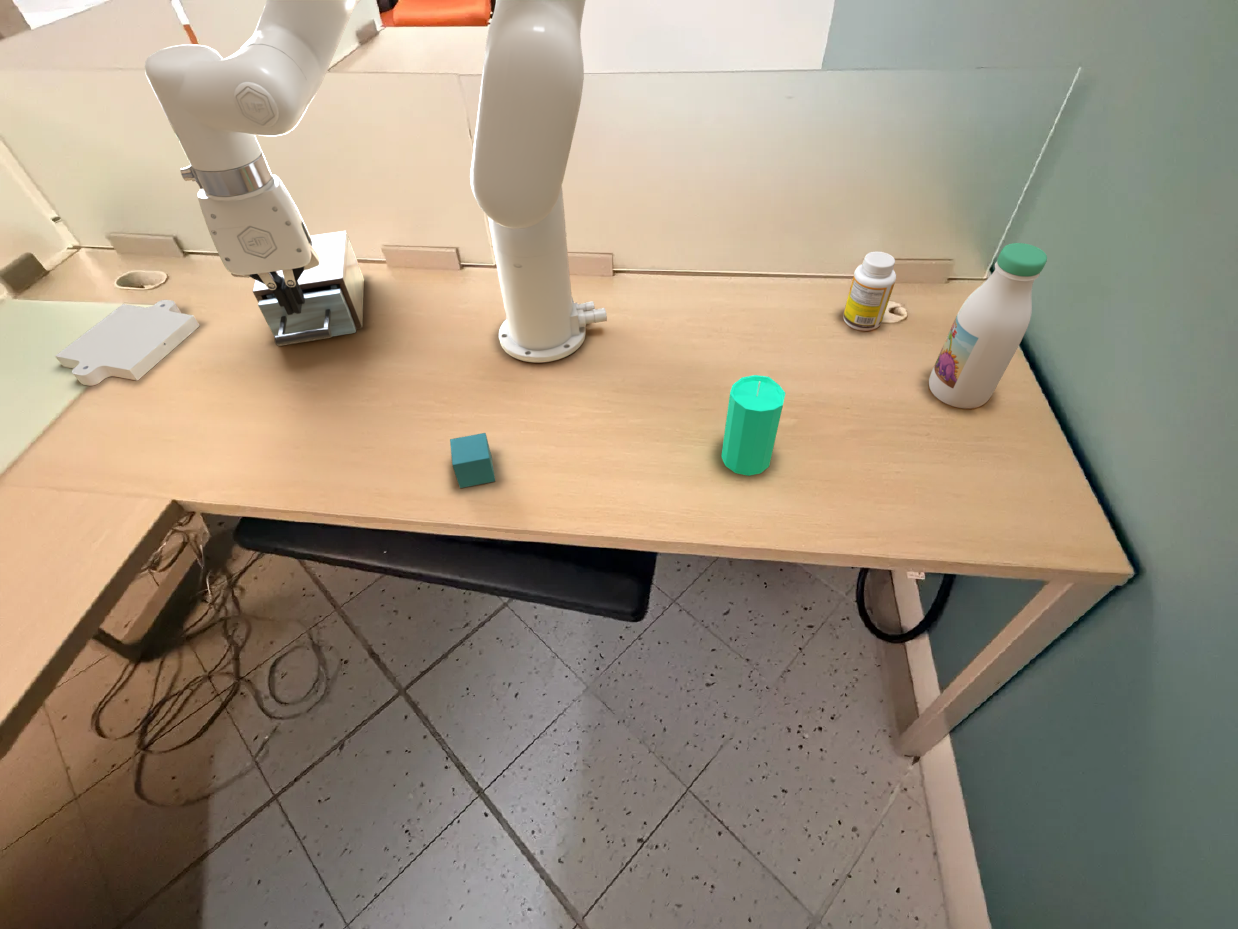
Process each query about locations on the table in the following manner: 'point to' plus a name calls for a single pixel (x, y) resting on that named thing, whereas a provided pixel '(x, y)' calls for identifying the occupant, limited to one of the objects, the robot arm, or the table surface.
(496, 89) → the robot arm
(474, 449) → the teal wooden cube
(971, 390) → the milk bottle
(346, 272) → the cabinet
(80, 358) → the mounting plate
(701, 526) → the table surface
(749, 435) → the candle
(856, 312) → the supplement bottle
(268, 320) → the drawer
